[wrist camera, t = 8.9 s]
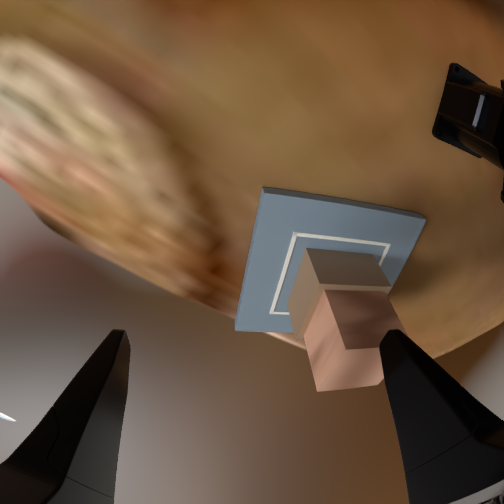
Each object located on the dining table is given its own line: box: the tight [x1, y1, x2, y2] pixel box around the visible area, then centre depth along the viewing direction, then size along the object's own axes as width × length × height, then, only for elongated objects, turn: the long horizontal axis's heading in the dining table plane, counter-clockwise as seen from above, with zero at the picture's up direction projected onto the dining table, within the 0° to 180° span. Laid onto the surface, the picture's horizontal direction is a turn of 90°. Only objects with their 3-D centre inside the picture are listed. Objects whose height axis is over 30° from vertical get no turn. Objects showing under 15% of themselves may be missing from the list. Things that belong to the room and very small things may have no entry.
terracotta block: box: [304, 290, 407, 391], centre depth 19 cm, size 5×5×5 cm
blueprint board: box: [235, 187, 426, 340], centre depth 23 cm, size 14×14×5 cm
